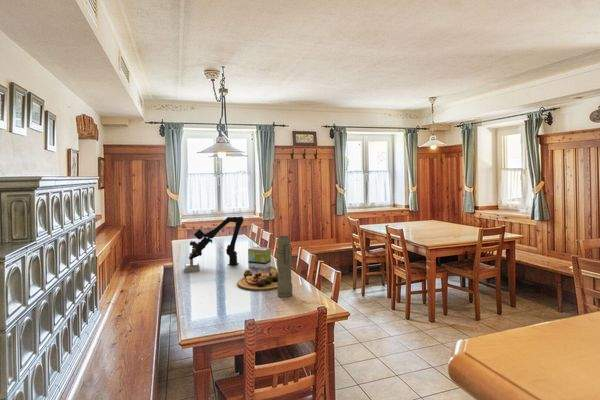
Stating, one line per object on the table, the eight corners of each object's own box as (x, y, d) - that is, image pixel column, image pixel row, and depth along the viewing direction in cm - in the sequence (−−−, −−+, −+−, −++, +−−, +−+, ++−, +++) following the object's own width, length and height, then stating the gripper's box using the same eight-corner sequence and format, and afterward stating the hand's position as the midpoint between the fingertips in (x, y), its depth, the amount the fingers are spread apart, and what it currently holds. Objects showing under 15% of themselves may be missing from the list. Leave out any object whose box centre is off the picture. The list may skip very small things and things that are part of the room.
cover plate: (197, 267, 293) (196, 253, 292) (186, 268, 291) (185, 254, 290) (196, 264, 302) (196, 251, 302) (186, 265, 300) (185, 251, 299)
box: (199, 271, 281) (199, 266, 280) (185, 272, 277) (185, 267, 277) (198, 267, 291) (198, 262, 291) (185, 268, 288) (184, 264, 288)
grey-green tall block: (287, 291, 228) (286, 234, 226) (295, 297, 218) (294, 237, 215) (274, 293, 225) (272, 235, 222) (281, 299, 214) (280, 238, 211)
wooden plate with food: (228, 283, 249) (228, 270, 249) (269, 274, 269) (268, 262, 268) (252, 296, 224) (252, 282, 223) (295, 285, 243) (295, 272, 242)
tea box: (248, 267, 289) (247, 248, 288) (254, 264, 298) (253, 246, 297) (265, 269, 283) (265, 249, 282) (271, 266, 292) (271, 247, 291)
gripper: (194, 235, 303) (180, 250, 300) (196, 238, 286) (182, 254, 282) (204, 244, 306) (191, 258, 303) (207, 248, 289) (193, 263, 286)
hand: (189, 258), depth 294 cm, fingers open, 5 cm apart
